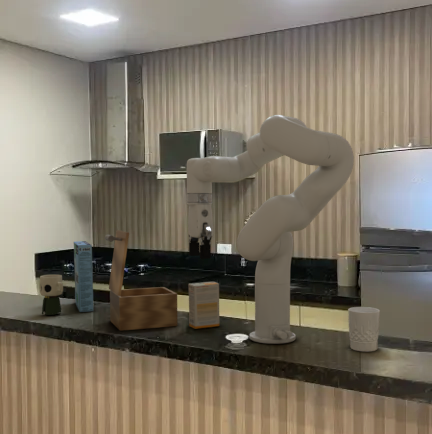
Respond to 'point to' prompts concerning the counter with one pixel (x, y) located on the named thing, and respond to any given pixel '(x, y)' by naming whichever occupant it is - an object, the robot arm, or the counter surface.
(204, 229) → the robot arm
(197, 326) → the supplement box
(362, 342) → the white cup
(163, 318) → the chest
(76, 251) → the gum box
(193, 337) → the counter surface
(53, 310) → the character mug
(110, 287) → the lid
